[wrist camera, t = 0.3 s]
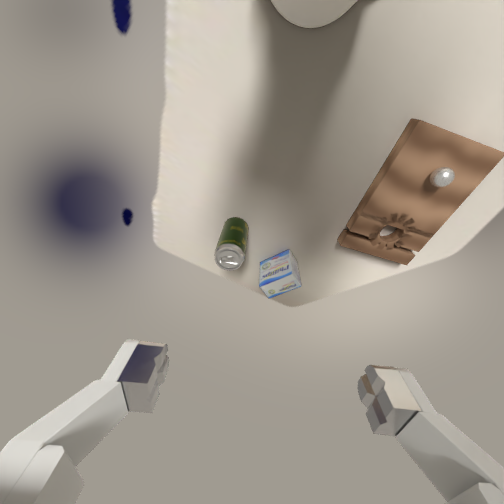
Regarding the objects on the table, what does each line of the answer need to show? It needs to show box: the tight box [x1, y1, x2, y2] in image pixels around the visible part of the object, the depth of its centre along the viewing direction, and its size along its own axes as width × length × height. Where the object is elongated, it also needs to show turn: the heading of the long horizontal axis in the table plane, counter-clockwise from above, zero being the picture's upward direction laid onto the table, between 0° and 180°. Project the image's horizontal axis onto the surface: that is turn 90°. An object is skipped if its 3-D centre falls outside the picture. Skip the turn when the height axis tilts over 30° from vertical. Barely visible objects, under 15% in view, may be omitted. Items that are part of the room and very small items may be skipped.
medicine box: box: [259, 250, 302, 298], centre depth 51 cm, size 8×4×9 cm, turn 122°
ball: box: [430, 167, 455, 187], centre depth 37 cm, size 3×3×3 cm
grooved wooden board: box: [337, 119, 504, 265], centre depth 43 cm, size 24×16×2 cm, turn 163°
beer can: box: [215, 217, 248, 271], centre depth 44 cm, size 5×5×12 cm
